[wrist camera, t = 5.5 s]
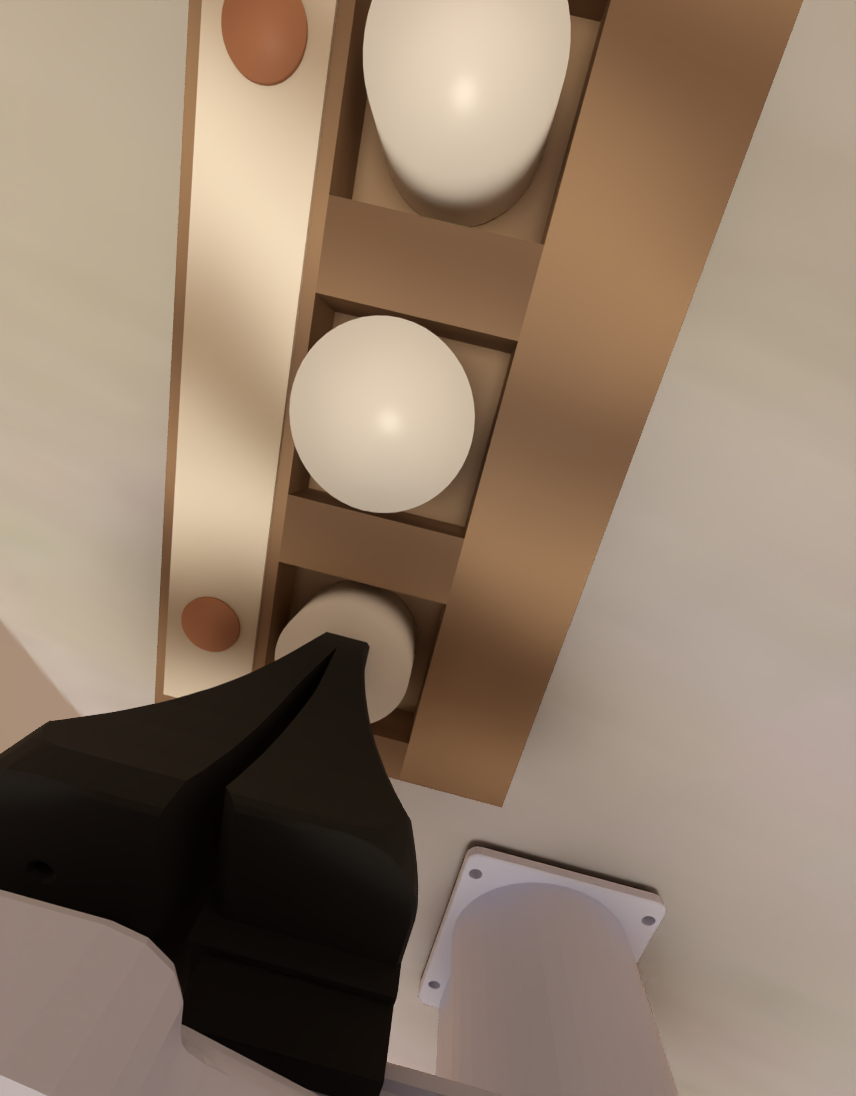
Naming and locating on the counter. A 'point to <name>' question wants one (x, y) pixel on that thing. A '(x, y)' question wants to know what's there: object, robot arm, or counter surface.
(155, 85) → the counter surface
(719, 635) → the counter surface
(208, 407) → the board
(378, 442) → the middle button
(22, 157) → the counter surface
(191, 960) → the robot arm
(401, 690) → the button
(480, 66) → the button
